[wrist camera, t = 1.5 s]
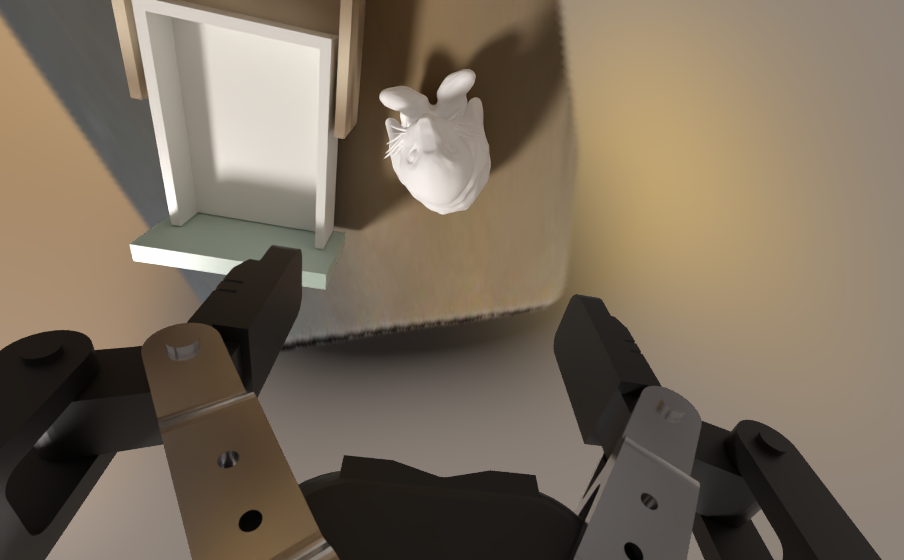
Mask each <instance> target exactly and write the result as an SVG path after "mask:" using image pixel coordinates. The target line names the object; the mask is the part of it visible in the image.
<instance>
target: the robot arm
mask: <svg viewBox="0 0 904 560" xmlns="http://www.w3.org/2000/svg"><path fill="white" fill-rule="evenodd" d="M301 299H302V251H301V249H297V248H291V247H285V246H278V245H271V246H270V248H269V249H268V250H267V252H266V253H265V254H264V256H263V257H262V258H261V260H253V259H248V260H246V261H244V262H242V263H241V264H239V265H237V266H235V267H233V268H232V269H231V271H230V272H229V273H228V274H227V275H226V277H225V278H224V280H223V281H221V282H220V284H219V285H218V286H217V287H216V290H215V291H213V292H212V293H211V294H210V296H209V297H208V298H207V299H206V300H205V302H204V303H203V304H202V305H201V306H200V307H199V309H198V310H197V311H196V312H195V313H194V315H193V316H192V317H191V318H190V319H189V321H188V322H187V323H183V324H177V325H173V326H169V327H166V328H164V329H161V330H160V331H157V332H156V333H154V334H153V335H151V336H150V337H149V338H148V339H147V340H146V341H145V342H144V344H143V346H137V347H127V348H115V349H103V350H94V347H93V344H92V341H91V340H90V338H89V337H87V336H86V335H84V334H83V333H80V332H76V331H69V330H56V331H48V332H42V333H38V334H35V335H31V336H28V337H25V338H22V339H20V340H18V341H16V342H13V343H12V344H10V345H8V346H6V347H5V348H3V349H2V350H1V351H0V560H45V559H46V557H47V556H48V554H49V553H50V551H51V550H52V548H53V547H54V545H55V544H56V542H57V541H58V539H59V538H60V536H61V535H62V533H63V532H64V531H65V529H66V528H67V526H68V524H69V523H70V522H71V520H72V519H73V517H74V516H75V514H76V513H77V511H78V509H79V508H80V507H81V505H82V504H83V502H84V501H85V499H86V498H87V496H88V495H89V493H90V492H91V490H92V489H93V487H94V486H95V484H96V483H97V481H98V480H99V478H100V477H101V475H102V474H103V472H104V471H105V469H106V468H107V466H108V465H109V463H110V462H111V461H112V459H113V458H114V456H115V455H116V453H117V452H119V451H125V450H131V449H137V448H143V447H150V446H156V445H162V444H163V445H164V448H165V453H166V457H167V461H168V464H169V468H170V472H171V476H172V480H173V485H174V489H175V493H176V497H177V501H178V504H179V509H180V513H181V516H182V521H183V525H184V529H185V533H186V536H187V541H188V545H189V549H190V553H191V557H192V560H687V555H688V549H689V544H690V539H691V533H692V532H693V534H694V536H695V538H696V541H697V543H698V545H699V548H700V550H701V552H702V555H703V557H704V559H705V560H774V559H773V558H772V556H771V554H770V552H769V551H768V549H767V547H766V545H765V543H764V542H763V540H762V538H761V536H760V535H759V533H758V531H757V529H756V527H755V526H754V524H753V522H752V520H751V518H752V517H753V516H754V515H755V514H756V513H757V512H758V511H759V510H761V509H762V510H763V512H764V514H765V516H766V517H767V519H768V521H769V522H770V524H771V526H772V527H773V529H774V531H775V532H776V534H777V536H778V538H779V539H780V542H781V544H782V548H783V560H881V558H880V557H879V556H878V554H877V553H876V552H875V550H874V549H873V548H872V546H871V545H870V544H869V542H868V541H867V540H866V539H865V537H864V536H863V535H862V533H861V532H860V531H859V529H858V528H857V527H856V526H855V524H854V523H853V522H852V520H851V519H850V518H849V516H848V515H847V514H846V512H845V511H844V510H843V509H842V507H841V506H840V505H839V504H838V502H837V501H836V499H835V498H834V497H833V495H832V494H831V493H830V492H829V490H828V489H827V488H826V486H825V485H824V484H823V482H822V481H821V480H820V478H819V477H818V476H817V475H816V473H815V472H814V471H813V469H812V468H811V467H810V465H809V464H808V463H807V462H806V461H805V459H804V458H803V456H802V455H801V454H800V453H799V451H798V450H797V449H796V448H795V446H794V445H793V444H792V443H791V442H790V441H789V440H788V439H787V438H785V437H784V436H783V435H782V434H780V433H779V432H777V431H776V430H774V429H772V428H771V427H769V426H767V425H765V424H762V423H760V422H757V421H753V420H743V421H740V422H739V423H738V424H737V425H736V426H735V428H734V429H733V430H732V431H731V432H730V431H728V430H725V429H722V428H719V427H717V426H714V425H712V424H709V423H706V422H704V421H701V418H700V415H699V413H698V411H697V410H696V409H695V407H694V406H693V405H692V404H691V403H690V402H689V401H688V400H687V399H685V398H684V397H683V396H681V395H680V394H678V393H676V392H674V391H672V390H670V389H668V388H665V387H662V386H661V385H660V383H659V381H658V379H657V378H656V376H655V374H654V373H653V371H652V369H651V368H650V366H649V364H648V363H647V361H646V359H645V358H644V356H643V354H641V351H640V349H639V348H638V346H637V344H635V343H634V342H635V341H634V339H633V337H632V336H631V334H630V332H629V331H628V329H627V328H626V327H625V326H624V325H623V324H622V323H621V322H620V321H619V320H617V319H616V318H615V317H613V316H611V315H610V313H609V312H608V310H607V308H606V306H605V305H604V303H603V301H602V300H601V299H600V298H596V297H590V296H584V295H577V294H576V295H574V296H573V297H572V298H571V299H570V302H569V304H568V306H567V309H566V311H565V313H564V315H563V318H562V320H561V323H560V325H559V327H558V329H557V332H556V334H555V338H554V353H555V356H556V360H557V363H558V366H559V369H560V372H561V375H562V378H563V381H564V384H565V386H566V390H567V393H568V396H569V399H570V402H571V404H572V408H573V410H574V414H575V417H576V420H577V423H578V426H579V429H580V432H581V435H582V438H583V441H584V444H590V445H599V446H602V448H603V450H604V453H603V454H602V456H601V457H600V459H599V461H598V463H597V465H596V467H595V469H594V471H593V473H592V475H591V478H590V479H589V482H588V484H587V486H586V488H585V490H584V492H583V494H582V496H581V498H580V500H579V502H578V505H577V507H576V509H575V511H574V512H573V511H571V510H570V509H569V508H567V507H566V506H565V505H563V504H562V503H560V502H558V501H557V500H555V499H554V498H551V497H549V496H547V495H545V494H543V493H541V492H539V490H538V485H537V480H536V476H535V475H529V474H518V473H509V472H500V471H484V472H478V473H472V474H465V475H459V476H453V477H438V476H436V475H433V474H430V473H427V472H424V471H421V470H419V469H416V468H413V467H410V466H407V465H405V464H402V463H399V462H396V461H393V460H385V459H374V458H364V457H356V456H346V455H344V458H343V462H342V467H341V471H337V472H331V473H327V474H323V475H320V476H317V477H315V478H312V479H309V480H307V481H304V482H303V483H301V484H299V485H298V483H297V481H296V479H295V477H294V475H293V473H292V471H291V469H290V466H289V464H288V462H287V460H286V458H285V456H284V454H283V452H282V449H281V448H280V445H279V443H278V441H277V439H276V437H275V434H274V432H273V430H272V428H271V426H270V424H269V422H268V420H267V417H266V415H265V413H264V411H263V409H262V407H261V405H260V403H259V401H258V395H259V393H260V391H261V389H262V387H263V385H264V383H265V381H266V379H267V377H268V375H269V373H270V371H271V369H272V367H273V365H274V362H275V361H276V359H277V357H278V355H279V353H280V350H281V348H282V346H283V344H284V342H285V340H286V338H287V336H288V334H289V332H290V330H291V328H292V326H293V324H294V322H295V320H296V318H297V316H298V313H299V310H300V305H301Z"/></svg>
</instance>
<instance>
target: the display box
mask: <svg viewBox="0 0 904 560" xmlns="http://www.w3.org/2000/svg"><path fill="white" fill-rule="evenodd" d="M181 1H185V2H190V3H194V4H199V5H203V6H208V7H212V8H217V9H221V10H226V11H230V12H235V13H239V14H243V15H248V16H252V17H257V18H261V19H266V20H270V21H275V22H279V23H284V24H288V25H293V26H297V27H302V28H306V29H310V30H315V31H319V32H324V33H328V34H333V35H337V36H339V49H338V70H337V92H336V113H335V135H334V137H336V138H342V139H345V138H346V136H347V135H348V134H349V133H350V131H351V130H352V129H353V128H354V126H355V125H356V124H357V117H358V104H359V90H360V77H361V63H362V50H363V36H364V23H365V9H366V0H181ZM112 5H113V10H114V15H115V20H116V25H117V31H118V36H119V41H120V46H121V51H122V56H123V61H124V66H125V71H126V76H127V81H128V86H129V91H130V96H131V98H136V99H141V100H143V99H146V98H149V96H148V91H147V85H146V79H145V74H144V68H143V63H142V57H141V51H140V46H139V40H138V35H137V29H136V23H135V18H134V12H133V6H132V1H131V0H112Z"/></svg>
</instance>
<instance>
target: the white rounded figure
mask: <svg viewBox="0 0 904 560" xmlns="http://www.w3.org/2000/svg"><path fill="white" fill-rule="evenodd" d="M475 78H476V75H475V73H474V72H473V71H472V70H471V69H462V70H460V71H457V72H454V73H451V74H450V75H448V76H447V77H446V78H445V79H444V81H443V82H442V84H441V85H440V87H439V89H438V91H437V99H438V102H437V103H436V104H435V105H431V104H430V103H429V101H428V98H427V97H426V96H425V95H423V94H420V93H419V92H417V91H415V90H413V89H412V88H409V87H406V86H396V87H389V88H386V89H384V90H382V92H381V93H380V97H379V98H380V101H381V102H382V103H383V104H384V105H385V106H387V107H388V108H390V109H393V110H396V111H400V118H401V122H402V125H401V124H400V123H399V122H398V121H397V120H395V119H394V118H388V119H387V120H386V121H385V122H386V123H385V125H386V128H387V132H388V136H389V139H390V142H388V143H387V144H389V150H388V151H387V152H389V151H390V153H389V154H388V155H387V156H386V157H388V156H389V155H390V156H391V159H392V165H393V169H394V171H395V172H396V174H397V175H398V178H399V180H400V181H401V183H402V184H403V185H405V186H406V188H407V189H408V190H409V191H410V193H411V194H412V196H413V197H414V198H416V199H417V200H419V201H420V202H422V203H423V204H424V205H425V206H426V207H427V208H429V209H430V210H432V211H436V212H438V213H440V214H447V213H450V212H456V211H461V210H466V209H468V208H469V207H470V206H471V205H472V203H473V202H474V201H475V199H476V198H477V196H478V195H479V193H480V192H481V190H482V189H483V187H484V186H485V185H486V183H487V181H488V178H489V173H490V168H491V160H490V154H489V144H488V142H487V139H486V136H485V132H484V127H483V108H482V102H481V100H480V99H479V98H477V97H474V98H472V99H471V100H470V101H469V102H468V104H467V98H466V94H467V92H468V91H469V90H470V89H471V88H472V86H473V85H474V82H475ZM387 152H386V153H387ZM386 157H385V158H386Z"/></svg>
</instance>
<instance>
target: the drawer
mask: <svg viewBox="0 0 904 560" xmlns="http://www.w3.org/2000/svg"><path fill="white" fill-rule="evenodd" d="M131 1H132V6H133V12H134V18H135V23H136V29H137V35H138V40H139V46H140V51H141V57H142V63H143V68H144V74H145V79H146V85H147V91H148V96H149V102H150V108H151V113H152V119H153V124H154V130H155V136H156V141H157V147H158V152H159V158H160V164H161V169H162V175H163V181H164V186H165V192H166V197H167V203H168V209H169V214H170V215H169V216H168V217H166V218H165V219H163V220H162V221H161V222H159V223H158V224H157V225H155V226H154V227H153V228H151V229H150V230H148V231H147V232H146V233H144V234H143V235H142V236H140V237H139V238H137V239H136V240H135V241H133V242H132V243H131V244H130V248H131V252H132V257H133V261H139V262H145V263H152V264H159V265H165V266H172V267H178V268H185V269H192V270H198V271H205V272H212V273H218V274H225V275H227V274H228V273H229V272H230V271H231V269H232V268H233V267H235V266H237V265H239V264H241V263H242V262H244V261H246V260H248V259H253V260H261V258H262V257H263V256H264V254H265V253H266V252H267V250H268V249H269V248H270V246H271V245H278V246H285V247H291V248H297V249H301V251H302V286H305V287H312V288H318V289H325V290H326V287H327V285H328V283H329V280H330V278H331V276H332V273H333V271H334V269H335V266H336V264H337V262H338V259H339V257H340V255H341V252H342V250H343V248H344V241H345V233H343V232H337V231H333V228H334V209H335V189H336V170H337V150H338V138H336V137H334V135H335V113H336V92H337V70H338V49H339V36H337V35H333V34H328V33H324V32H319V31H315V30H310V29H306V28H302V27H297V26H293V25H288V24H284V23H279V22H275V21H270V20H266V19H261V18H257V17H252V16H248V15H243V14H239V13H235V12H230V11H226V10H221V9H217V8H212V7H208V6H203V5H199V4H194V3H190V2H185V1H181V0H131Z"/></svg>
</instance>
